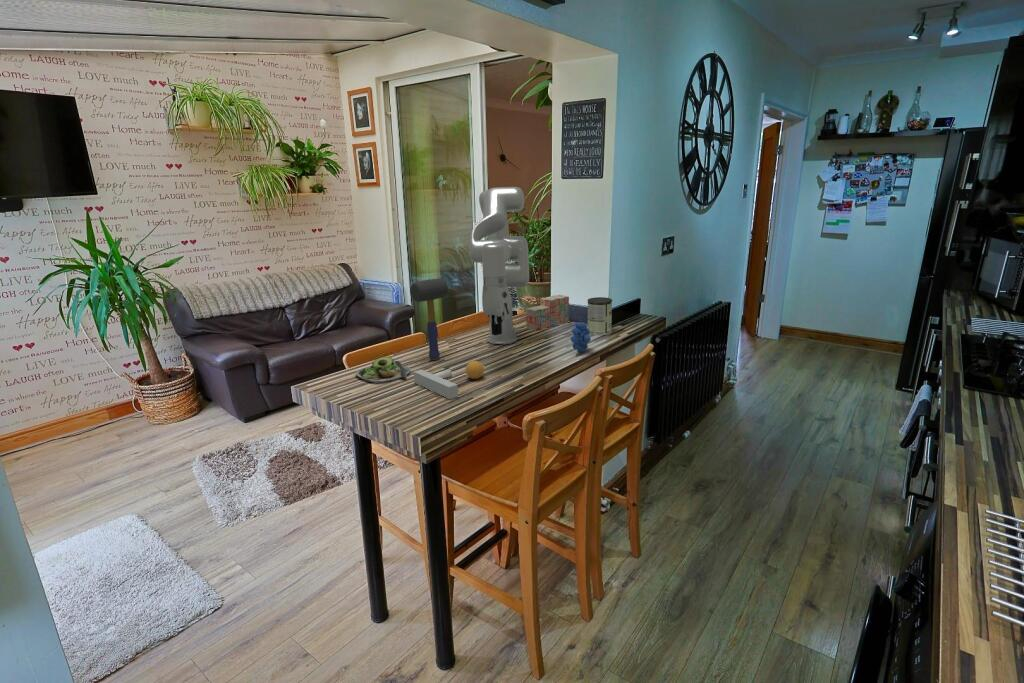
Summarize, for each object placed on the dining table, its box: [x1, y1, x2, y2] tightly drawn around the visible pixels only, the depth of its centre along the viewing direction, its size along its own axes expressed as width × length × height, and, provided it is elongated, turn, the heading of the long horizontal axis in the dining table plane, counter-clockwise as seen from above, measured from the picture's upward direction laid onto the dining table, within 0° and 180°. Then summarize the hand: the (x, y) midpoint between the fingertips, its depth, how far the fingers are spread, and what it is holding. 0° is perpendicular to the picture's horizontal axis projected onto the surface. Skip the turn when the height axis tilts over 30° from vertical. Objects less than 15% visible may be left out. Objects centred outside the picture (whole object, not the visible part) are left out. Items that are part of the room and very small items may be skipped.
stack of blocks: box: [525, 294, 570, 331], centre depth 236 cm, size 21×6×12 cm, turn 131°
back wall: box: [413, 369, 459, 400], centre depth 165 cm, size 3×20×4 cm, turn 42°
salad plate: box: [355, 355, 412, 384], centre depth 180 cm, size 19×18×5 cm
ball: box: [465, 360, 485, 380], centre depth 173 cm, size 6×6×6 cm
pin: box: [432, 369, 453, 379], centre depth 174 cm, size 2×2×8 cm
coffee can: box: [587, 296, 613, 336], centre depth 222 cm, size 10×10×14 cm
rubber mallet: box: [409, 278, 449, 361], centre depth 191 cm, size 12×8×30 cm, turn 133°
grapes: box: [570, 321, 591, 354], centre depth 195 cm, size 12×7×12 cm, turn 141°
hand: (496, 334), depth 179 cm, fingers closed
